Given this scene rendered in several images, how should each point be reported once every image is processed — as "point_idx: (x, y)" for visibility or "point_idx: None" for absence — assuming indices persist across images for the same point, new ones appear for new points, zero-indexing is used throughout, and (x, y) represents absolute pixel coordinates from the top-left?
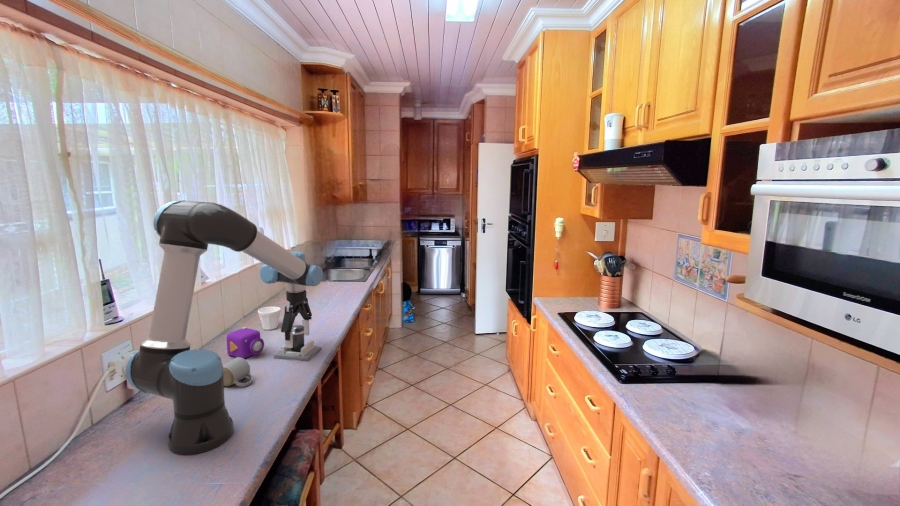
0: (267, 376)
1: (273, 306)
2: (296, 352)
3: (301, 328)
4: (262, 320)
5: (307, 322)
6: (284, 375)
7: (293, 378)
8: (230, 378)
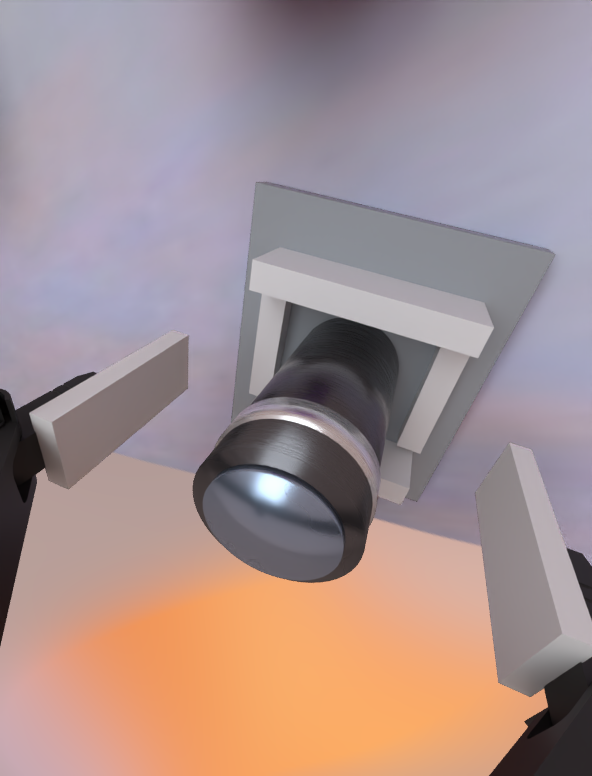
0: (37, 243)
1: None
2: (268, 373)
3: (242, 556)
4: None
5: (499, 641)
6: (76, 332)
7: (69, 377)
8: None
